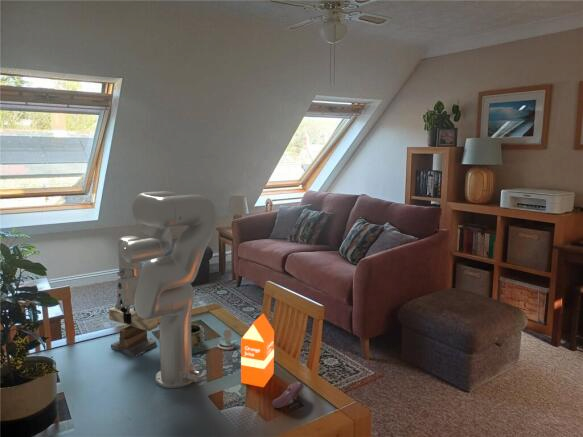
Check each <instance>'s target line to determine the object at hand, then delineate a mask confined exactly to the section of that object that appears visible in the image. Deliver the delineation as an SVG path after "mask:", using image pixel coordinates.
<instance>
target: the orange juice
mask: <svg viewBox="0 0 583 437" xmlns="http://www.w3.org/2000/svg"><path fill="white" fill-rule="evenodd" d="M240 340H241V341H240V343H241V344H240V345H241V346H240V347H241V348H240V354H241V356H240V378H241V379H240V382H241V383H242V384H246V385H250V386H251V385H252V386H255V387H260V388H264V387H265V386H266V384H267V383H268V382H269V380H270V379H271V377H273V375H274V369H275V368H274V365H275V362H274V361H275V360H274V358H275V330H274V329H273V327H272V325H271V323H270V322H269V320H268V319H267V317H266V315H265V314H264V313H262V314H261V315H259V317H258V318H256V319H255V320H254V321H253V322H252V325H250V327H249V329H248V330H247V331H246V332H245V333H244V334H243V336H242V337H241V339H240Z"/></svg>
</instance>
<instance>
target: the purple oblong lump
mask: <svg viewBox="0 0 583 437" xmlns="http://www.w3.org/2000/svg"><path fill="white" fill-rule="evenodd" d="M304 387H305V385H304V384H303V383H302V382H299V381H298V380H297V381H295V382H294V383H293V382H292V383H290V384H288V385H287V388H286V389H285V390H284V391H283V393H282V394H281V395H279V397H277V398H275V399H273V401H271V402H272V403H271V405H272V407H273V408H276V409H280V408H283V407H284V406H285V407H288V406H289V405H290V404H292V403H293V402H294V401H295V400H297V397H298V395H300V393H301V392H302V391H303V389H304Z"/></svg>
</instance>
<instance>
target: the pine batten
mask: <svg viewBox="0 0 583 437" xmlns="http://www.w3.org/2000/svg"><path fill="white" fill-rule="evenodd" d="M125 309H126V308H125ZM130 313H131V324H126V323H124V317H123V313H122V312H121V311H120V310H118V309H115V306H113V307H111V308H108V319H109V320H110V321H113V322H117V323H119V324H120V323H121V324H124V325H127V326H133V327H136V328H140V329H143V330H146V331H147V332H150V331H153V330H154V329H157V328H158V327H159V326H158V317H157V318H153V319H142V318H140V317H139V316H138V315H137V313H136V311H135V310H134V309H132V308H130Z"/></svg>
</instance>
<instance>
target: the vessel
mask: <svg viewBox="0 0 583 437" xmlns="http://www.w3.org/2000/svg"><path fill="white" fill-rule="evenodd" d="M202 330H203V326H202V325H200V324H197V323H191V350H194V349H198V348H199V347H201V346H202V343H203V334H202Z"/></svg>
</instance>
